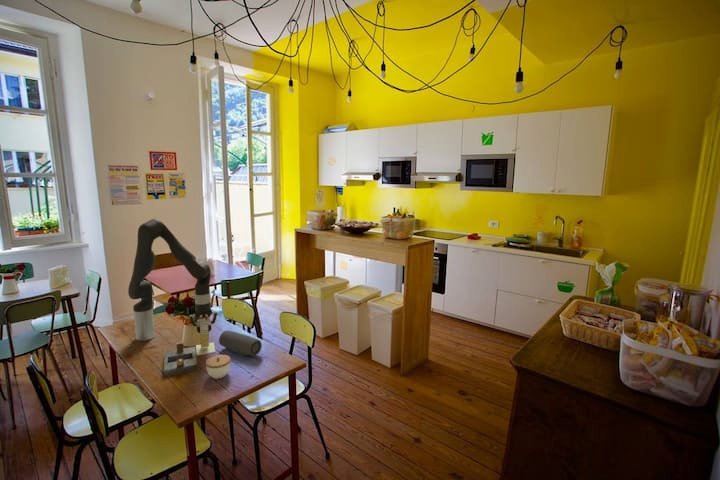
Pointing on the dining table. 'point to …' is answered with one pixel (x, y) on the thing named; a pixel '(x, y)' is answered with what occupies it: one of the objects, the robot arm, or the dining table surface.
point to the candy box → (204, 332)
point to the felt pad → (205, 349)
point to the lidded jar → (218, 366)
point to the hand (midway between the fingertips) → (204, 331)
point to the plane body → (180, 360)
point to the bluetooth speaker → (240, 343)
